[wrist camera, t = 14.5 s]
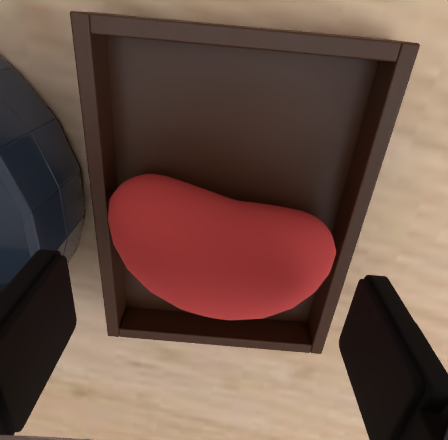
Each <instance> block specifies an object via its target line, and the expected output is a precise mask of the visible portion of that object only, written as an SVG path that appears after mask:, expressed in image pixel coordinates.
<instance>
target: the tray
mask: <svg viewBox="0 0 448 440" xmlns="http://www.w3.org/2000/svg"><path fill="white" fill-rule="evenodd" d="M70 17H71V26H72V34H73V43H74V51H75V60H76V68H77V77H78V85H79V94H80V102H81V111H82V119H83V128H84V136H85V145H86V153H87V162H88V170H89V179H90V187H91V196H92V204H93V213H94V221H95V230H96V238H97V247H98V255H99V264H100V272H101V281H102V289H103V298H104V306H105V315H106V323H107V332H108V336H115V337H119V335H120V337H129V338H141V339H153V340H164V341H176V342H188V343H200V344H211V345H223V346H235V347H247V348H258V349H270V350H282V351H293V352H305V353H310V352H311V353H317V354H321V353H322V350H323V347H324V344H325V340H326V337H327V334H328V331H329V328H330V325H331V322H332V319H333V315H334V312H335V309H336V306H337V303H338V300H339V297H340V293H341V290H342V287H343V284H344V281H345V278H346V275H347V272H348V268H349V265H350V262H351V259H352V256H353V253H354V250H355V247H356V243H357V240H358V237H359V234H360V231H361V228H362V225H363V222H364V218H365V215H366V212H367V209H368V206H369V203H370V200H371V197H372V193H373V190H374V187H375V184H376V181H377V178H378V175H379V171H380V168H381V165H382V162H383V159H384V156H385V153H386V150H387V146H388V143H389V140H390V137H391V134H392V131H393V128H394V125H395V121H396V118H397V115H398V112H399V109H400V106H401V103H402V100H403V96H404V93H405V90H406V87H407V84H408V81H409V78H410V75H411V71H412V68H413V65H414V62H415V59H416V56H417V53H418V49H419V46H420V45H419V44H418V43H411V42H404V41H396V40H386V39H376V38H365V37H354V36H343V35H332V34H322V33H311V32H300V31H289V30H278V29H267V28H257V27H246V26H235V25H224V24H213V23H203V22H192V21H181V20H170V19H159V18H149V17H138V16H127V15H116V14H105V13H94V12H75V11H71V12H70ZM143 174H158V175H164V176H168V177H171V178H174V179H177V180H180V181H183V182H186V183H189V184H192V185H194V186H197V187H200V188H203V189H206V190H209V191H211V192H214V193H217V194H220V195H222V196H225V197H228V198H230V199H234V200H238V201H245V202H254V203H262V204H269V205H275V206H281V207H286V208H292V209H296V210H301V211H304V212H306V213H309V214H311V215H313V216H315V217H317V218H318V219H320V220H321V221H322V222H323V223H324V224H325V225H326V226H327V228H328V229H329V230H330V232H331V234H332V237H333V240H334V244H335V248H336V255H335V258H334V261H333V265H332V268H331V271H330V273H329V275H328V276H327V277H326V279H325V280H324V281H323V283H322V284H321V285H320V287H319V288H318V289H317V290H316V291H315V292H314V293H313V294H312V295H310V296H309V297H308V298H306V299H305V300H303V301H302V302H301V303H299V304H298V305H296V306H295V307H294V308H292V309H289V310H286V311H283V312H280V313H277V314H275V315H272V316H269V317H266V318H262V319H246V320H222V319H215V318H210V317H205V316H201V315H197V314H194V313H191V312H188V311H185V310H182V309H180V308H177V307H176V306H174V305H172V304H171V303H169V302H167V301H165V300H164V299H162V298H160V297H158V296H157V295H155V294H153V293H151V292H150V291H149V290H148V289H147V288H146V287H145V286H144V285H143V284H142V283H141V282H140V281H139V280H138V279H137V278H136V277H135V276H134V275H133V274H132V273H131V272H130V271H129V270H128V269H127V267H126V266H125V264H124V262H123V260H122V259H121V257H120V255H119V253H118V251H117V250H116V248H115V246H114V244H113V240H112V236H111V232H110V227H109V223H108V211H109V201H110V198H111V196H112V195H113V193H114V192H115V191H116V189H117V188H118V187H119V186H120V185H121V184H122V183H123V182H125V181H127V180H128V179H131V178H133V177H136V176H139V175H143Z"/></svg>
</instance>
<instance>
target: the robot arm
mask: <svg viewBox="0 0 448 440" xmlns="http://www.w3.org/2000/svg"><path fill="white" fill-rule="evenodd" d="M75 326H76V313H75V307H74V300H73V294H72V288H71V282H70V276H69V270H68V264H67V259H66V257H65V256H63V255H61V253H60V251H58V250H45V249H40V250H38V251H37V252H36V253H35V254H34V255H33V256H32V257H31V258H30V260H29V261H28V262H27V263H26V264H25V265H24V267H23V268H22V269H21V270H20V271H19V272H18V273H17V275H16V276H15V277H14V278H13V279H12V280H11V281H10V283H9V284H8V285H7V286H6V287H5V288H4V289H3V290H2V291H1V292H0V440H89V439H73V438H57V437H36V436H14V433H15V432H20V431H21V430H22V429H23V427H24V425H25V423H26V422H27V420H28V418H29V416H30V414H31V412H32V410H33V408H34V406H35V404H36V402H37V400H38V399H39V397H40V395H41V393H42V391H43V389H44V387H45V385H46V383H47V381H48V379H49V377H50V376H51V374H52V372H53V370H54V368H55V366H56V364H57V362H58V360H59V358H60V356H61V354H62V353H63V351H64V349H65V347H66V345H67V343H68V341H69V339H70V337H71V335H72V333H73V331H74V329H75ZM339 348H340V352H341V355H342V358H343V361H344V364H345V367H346V370H347V373H348V376H349V379H350V382H351V385H352V388H353V391H354V394H355V397H356V400H357V403H358V406H359V409H360V412H361V415H362V418H363V421H364V424H365V427H366V430H367V433H368V436H369V439H370V440H448V373H447V372H446V370H445V369H444V367H443V365H442V364H441V362H440V361H439V359H438V357H437V356H436V354H435V352H434V351H433V349H432V348H431V346H430V344H429V343H428V341H427V340H426V338H425V336H424V335H423V333H422V331H421V330H420V328H419V327H418V325H417V324H416V323H415V321H414V320H413V318H412V317H411V315H410V313H409V312H408V310H407V308H406V307H405V305H404V304H403V302H402V300H401V299H400V297H399V295H398V294H397V292H396V291H395V289H394V287H393V286H392V284H391V283H390V281H389V279H388V278H387V277H385V276H374V275H367V276H366V277H365V278H364V279H360V280H359V282H358V285H357V288H356V291H355V294H354V297H353V300H352V303H351V306H350V309H349V312H348V315H347V318H346V321H345V324H344V327H343V330H342V333H341V336H340V339H339Z"/></svg>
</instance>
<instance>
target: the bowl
mask: <svg viewBox="0 0 448 440" xmlns="http://www.w3.org/2000/svg"><path fill="white" fill-rule="evenodd" d="M79 168H80V167H79V165H78V163H77V161H76V159H75V157H74V154H73V152H72V150H71V148H70V146H69V144H68V141H67V139H66V137H65V135H64V133H63V131H62V128H61V126H60V124H59V122H58V120H57V119H56V118H55V116H54V115H53V113H52V112H51V111H50V110H49V109H48V107H47V106H46V105H45V104H44V102H43V101H42V100H41V99H40V98H39V96H38V95H37V94H36V93H35V91H34V90H33V89H32V88H31V87H30V85H29V84H28V83H27V82H26V80H25V79H24V78H23V77H22V76H21V74H20V73H19V72H18V71H17V70H16V69H15V68H14V67H13V66H12V65H11V64H9V63H8V62H7V61H5V60H4V59H3V58H1V57H0V292H1V291H2V290H3V289H4V288H5V287H6V286H7V285H8V284H9V283H10V281H11V280H12V279H13V278H14V277H15V276H16V275H17V273H18V272H19V271H20V270H21V269H22V268H23V267H24V265H25V264H26V263H27V262H28V261H29V260H30V258H31V257H32V256H33V255H34V254H35V253H36V252H37V251H38V250H40V249H45V250H58V251H60V253H61V255H63V256H65V257H66V259H67V263H68V261H69V260H70V259H71V257H72V256H73V254H74V253H75V251H76V249H77V246H78V242H79V238H80V234H81V230H82V226H83V222H84V218H85V205H84V198H83V190H82V182H81V175H80V169H79Z"/></svg>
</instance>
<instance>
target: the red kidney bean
mask: <svg viewBox="0 0 448 440" xmlns="http://www.w3.org/2000/svg"><path fill="white" fill-rule="evenodd" d="M108 223H109V227H110V232H111V236H112V240H113V244H114V246H115V248H116V250H117V251H118V253H119V255H120V257H121V259H122V260H123V262H124V264H125V266H126V267H127V269H128V270H129V271H130V272H131V273H132V274H133V275H134V276H135V277H136V278H137V279H138V280H139V281H140V282H141V283H142V284H143V285H144V286H145V287H146V288H147V289H148V290H149V291H150V292H151V293H153V294H155V295H157V296H158V297H160V298H162V299H164V300H165V301H167V302H169V303H171V304H172V305H174V306H176V307H177V308H180V309H182V310H185V311H188V312H191V313H194V314H197V315H201V316H205V317H210V318H215V319H222V320H246V319H262V318H266V317H269V316H272V315H275V314H277V313H280V312H283V311H286V310H289V309H292V308H294V307H295V306H296V305H298V304H299V303H301V302H302V301H303V300H305V299H306V298H308V297H309V296H310V295H312V294H313V293H314V292H315V291H316V290H317V289H318V288H319V287H320V285H321V284H322V283H323V281H324V280H325V279H326V277H327V276H328V275H329V273H330V271H331V268H332V265H333V261H334V258H335V255H336V248H335V244H334V240H333V237H332V234H331V232H330V230H329V229H328V228H327V226H326V225H325V224H324V223H323V222H322V221H321V220H320V219H318V218H317V217H315V216H313V215H311V214H309V213H306V212H304V211H301V210H296V209H292V208H286V207H281V206H275V205H269V204H262V203H254V202H245V201H238V200H234V199H230V198H228V197H225V196H222V195H220V194H217V193H214V192H211V191H209V190H206V189H203V188H200V187H197V186H194V185H192V184H189V183H186V182H183V181H180V180H177V179H174V178H171V177H168V176H164V175H158V174H143V175H139V176H136V177H133V178H131V179H128V180H127V181H125V182H123V183H122V184H121V185H120V186H119V187H118V188H117V189H116V191H115V192H114V193H113V195H112V196H111V198H110V201H109V211H108Z"/></svg>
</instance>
